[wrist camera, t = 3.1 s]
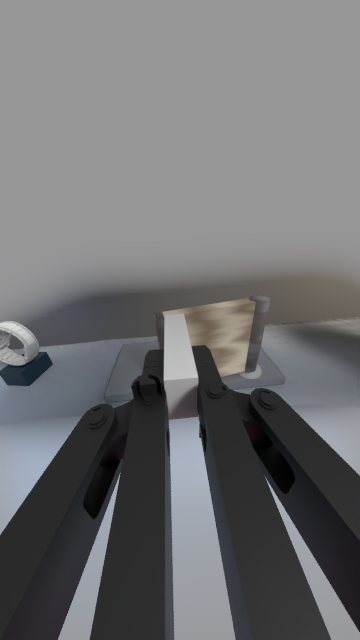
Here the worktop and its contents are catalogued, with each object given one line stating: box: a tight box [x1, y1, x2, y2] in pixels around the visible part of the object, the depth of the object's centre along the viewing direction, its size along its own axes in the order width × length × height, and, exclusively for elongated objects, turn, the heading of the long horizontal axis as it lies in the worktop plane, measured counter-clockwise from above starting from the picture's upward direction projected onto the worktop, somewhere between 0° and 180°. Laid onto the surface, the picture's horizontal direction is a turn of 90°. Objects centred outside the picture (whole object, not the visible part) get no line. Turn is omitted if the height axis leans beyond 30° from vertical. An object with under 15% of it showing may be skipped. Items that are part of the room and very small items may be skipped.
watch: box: [0, 321, 53, 386], centre depth 30 cm, size 6×8×11 cm
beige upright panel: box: [154, 296, 270, 377], centre depth 24 cm, size 15×3×12 cm, turn 104°
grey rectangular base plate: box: [104, 342, 285, 403], centre depth 32 cm, size 28×13×2 cm, turn 94°
